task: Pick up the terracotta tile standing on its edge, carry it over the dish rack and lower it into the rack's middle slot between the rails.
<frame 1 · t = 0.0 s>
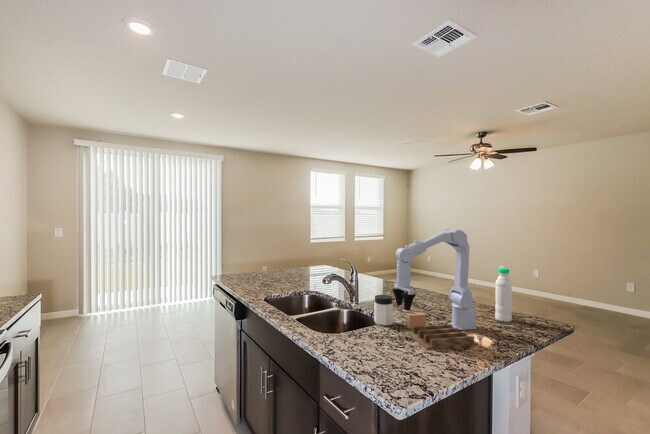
hand: (403, 307, 135), 10 cm above the worktop, fingers open, 7 cm apart
water bottle: (503, 320, 152), on the worktop
jar: (383, 322, 146), on the worktop
tile: (416, 327, 140), on the worktop
rack: (441, 339, 126), on the worktop
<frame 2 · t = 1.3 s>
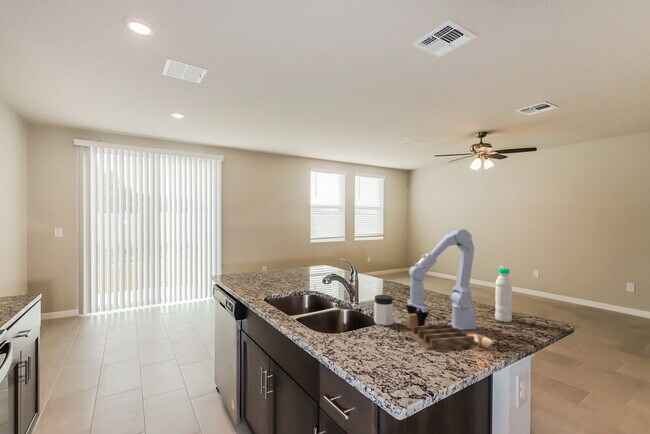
hand: (416, 323, 140), 2 cm above the worktop, fingers open, 7 cm apart
nothing on the worktop moved.
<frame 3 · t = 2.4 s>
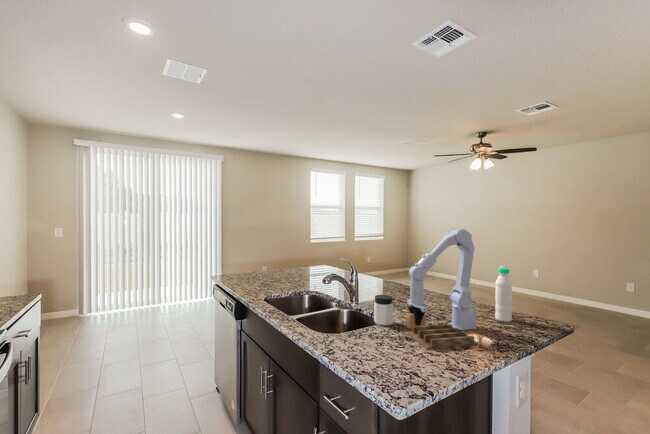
hand: (416, 323, 140), 2 cm above the worktop, fingers closed on tile, 2 cm apart
tile: (416, 327, 140), on the worktop, touching gripper
everything else where it was.
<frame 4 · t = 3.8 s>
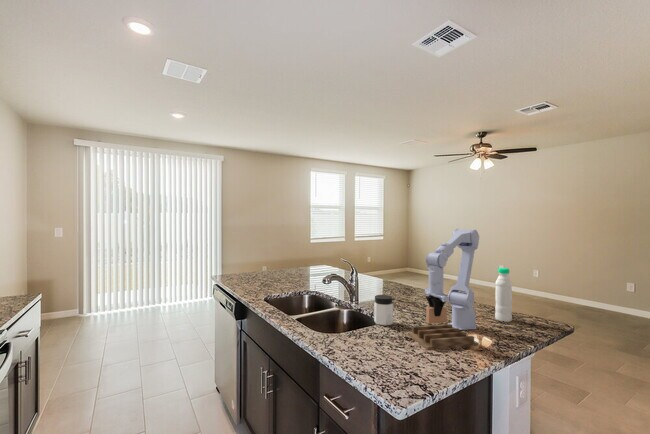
hand: (435, 314, 129), 9 cm above the worktop, fingers closed on tile, 2 cm apart
tile: (436, 322, 129), point 6 cm above the worktop, touching gripper
everything else where it was.
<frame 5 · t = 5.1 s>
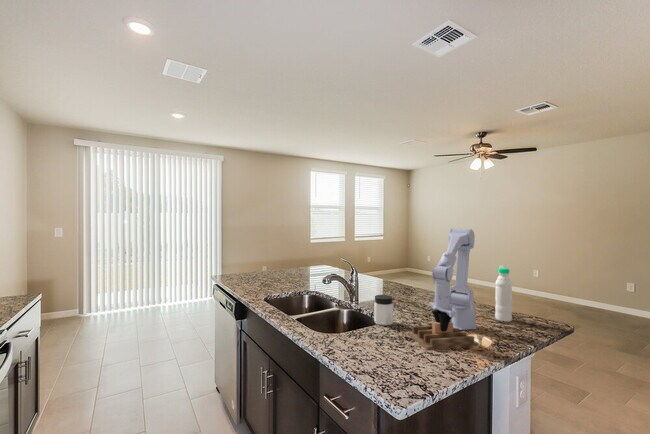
hand: (441, 329, 126), 4 cm above the worktop, fingers closed on tile, 2 cm apart
tile: (442, 337, 126), point 1 cm above the worktop, touching gripper, rack
everything else where it was.
when the fingers open (4 cm above the worktop, at t = 5.6 s): tile stays where it is, resting on rack.
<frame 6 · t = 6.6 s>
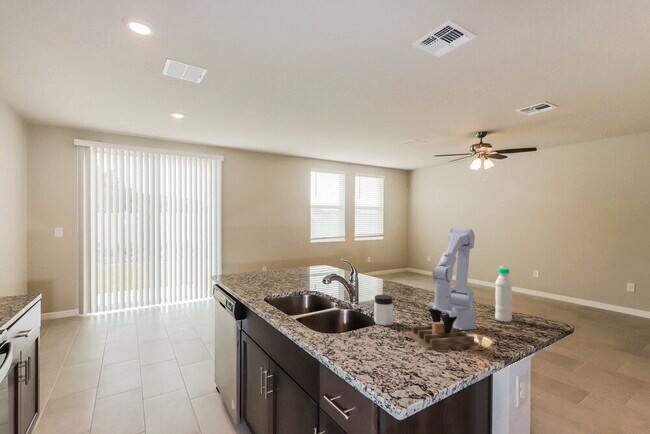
hand: (441, 329, 126), 4 cm above the worktop, fingers open, 7 cm apart
tile: (442, 337, 126), point 1 cm above the worktop, touching rack
everything else where it was.
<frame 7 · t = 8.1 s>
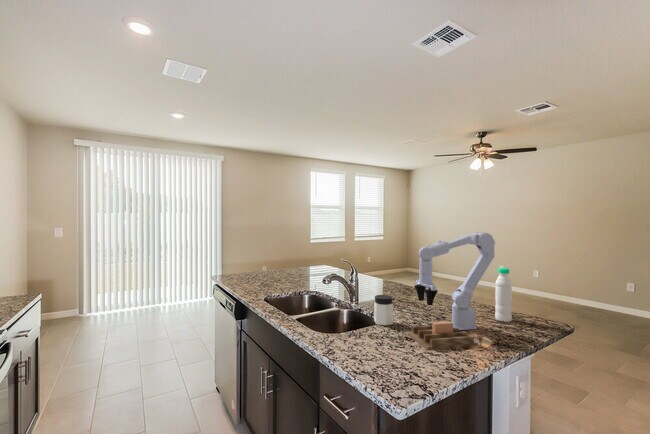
hand: (425, 302, 144), 10 cm above the worktop, fingers open, 7 cm apart
nothing on the worktop moved.
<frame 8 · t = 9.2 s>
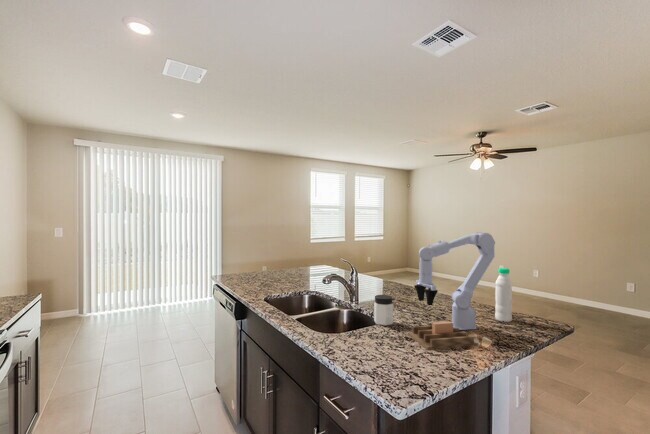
hand: (425, 302, 144), 10 cm above the worktop, fingers open, 7 cm apart
nothing on the worktop moved.
at the end: tile inside the target area on the rack (0.3 cm from its centre), point 0.8 cm above the rack's base; tile tilted 0°; the gripper is holding nothing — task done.
